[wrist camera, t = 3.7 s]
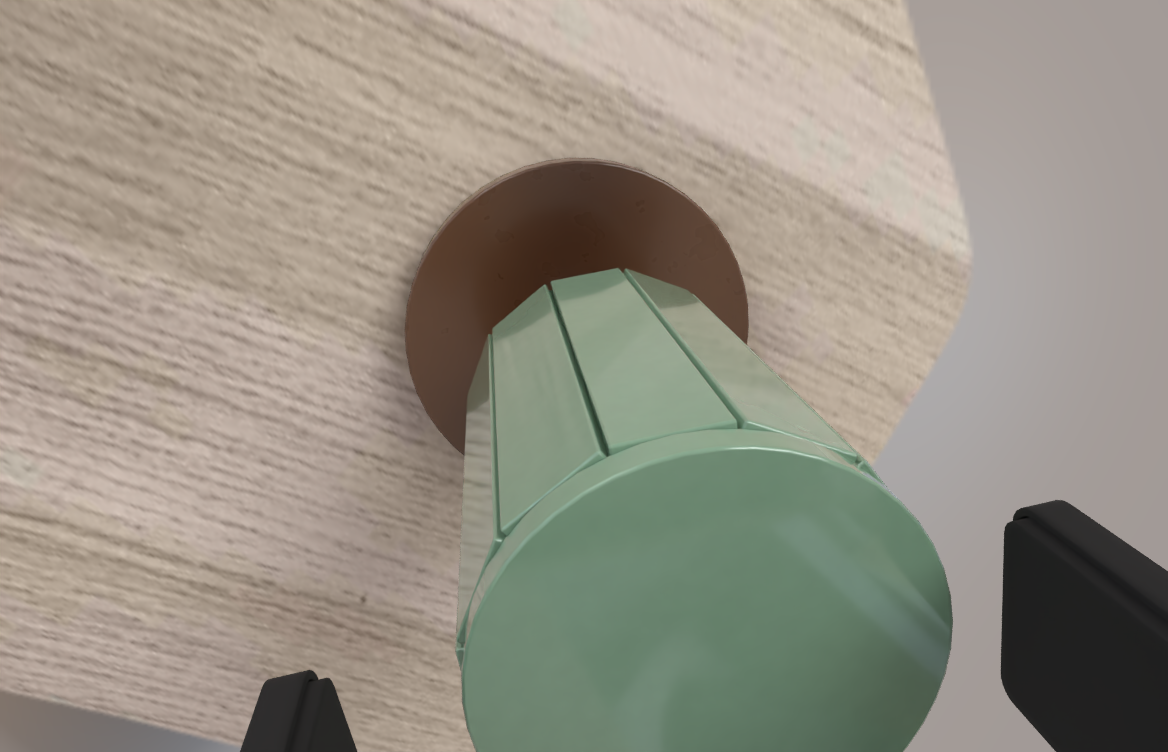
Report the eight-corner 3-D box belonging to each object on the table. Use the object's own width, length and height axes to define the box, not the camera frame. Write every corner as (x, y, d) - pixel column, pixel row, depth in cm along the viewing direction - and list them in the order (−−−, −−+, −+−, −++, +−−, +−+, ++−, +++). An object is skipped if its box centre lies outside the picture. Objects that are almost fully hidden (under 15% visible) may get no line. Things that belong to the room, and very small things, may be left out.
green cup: (723, 247, 19) (954, 397, 10) (749, 493, 22) (955, 803, 12) (443, 301, 19) (404, 510, 9) (501, 546, 21) (517, 908, 12)
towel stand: (720, 128, 25) (1090, 188, 10) (752, 443, 29) (1054, 836, 14) (369, 193, 24) (182, 365, 9) (450, 506, 28) (413, 991, 13)
